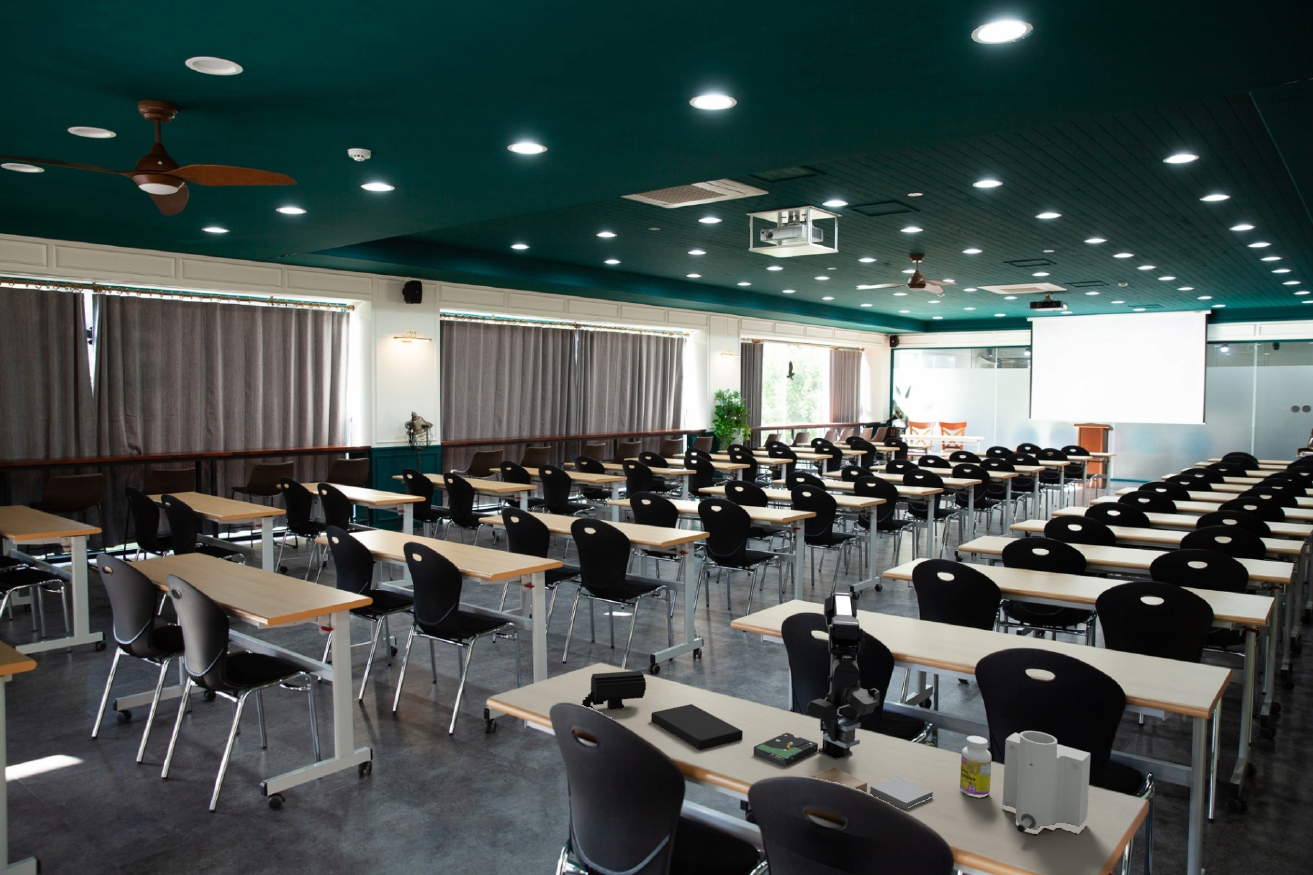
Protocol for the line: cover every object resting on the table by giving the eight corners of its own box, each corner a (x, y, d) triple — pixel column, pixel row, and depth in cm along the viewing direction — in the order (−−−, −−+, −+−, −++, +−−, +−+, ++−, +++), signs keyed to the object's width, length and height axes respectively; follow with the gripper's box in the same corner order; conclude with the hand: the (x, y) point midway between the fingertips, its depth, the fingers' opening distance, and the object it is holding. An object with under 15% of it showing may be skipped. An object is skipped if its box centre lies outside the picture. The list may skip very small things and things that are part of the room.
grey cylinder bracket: (1087, 825, 187) (1091, 735, 187) (1060, 857, 173) (1065, 760, 173) (1011, 800, 198) (1015, 716, 197) (981, 828, 184) (985, 737, 183)
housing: (822, 738, 203) (823, 718, 203) (836, 734, 206) (837, 713, 206) (845, 748, 197) (846, 727, 197) (859, 743, 200) (860, 722, 200)
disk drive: (785, 742, 230) (752, 756, 220) (786, 732, 230) (753, 746, 220) (818, 753, 223) (785, 769, 213) (818, 743, 223) (786, 758, 212)
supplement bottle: (953, 788, 204) (956, 735, 203) (975, 784, 206) (978, 732, 205) (973, 801, 197) (975, 746, 197) (995, 797, 200) (998, 743, 199)
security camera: (580, 706, 251) (581, 672, 250) (640, 701, 256) (641, 669, 256) (585, 714, 244) (586, 680, 244) (646, 709, 250) (647, 676, 249)
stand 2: (870, 792, 200) (870, 786, 200) (896, 782, 206) (896, 776, 206) (906, 809, 192) (906, 803, 192) (932, 798, 198) (932, 791, 198)
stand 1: (811, 783, 204) (812, 775, 204) (834, 775, 209) (834, 767, 209) (844, 799, 196) (844, 791, 196) (866, 791, 201) (867, 782, 201)
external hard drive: (699, 752, 221) (700, 740, 221) (651, 723, 241) (651, 712, 241) (742, 741, 229) (742, 730, 229) (691, 714, 249) (692, 703, 248)
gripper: (844, 690, 189) (841, 760, 190) (896, 676, 200) (893, 741, 201) (806, 677, 198) (804, 743, 198) (858, 664, 209) (856, 726, 210)
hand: (841, 739), depth 202 cm, fingers closed on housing, 5 cm apart
